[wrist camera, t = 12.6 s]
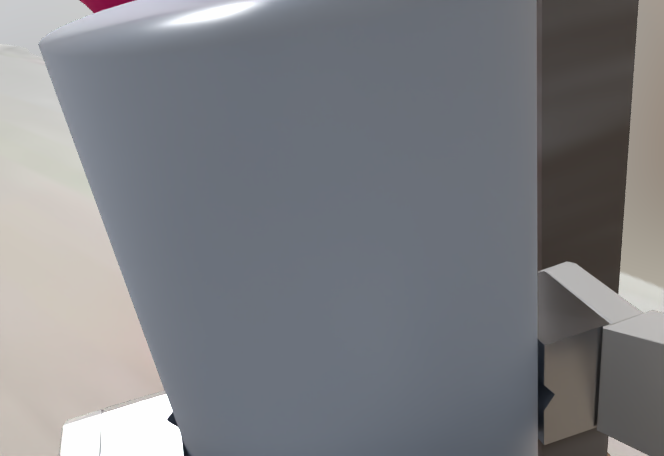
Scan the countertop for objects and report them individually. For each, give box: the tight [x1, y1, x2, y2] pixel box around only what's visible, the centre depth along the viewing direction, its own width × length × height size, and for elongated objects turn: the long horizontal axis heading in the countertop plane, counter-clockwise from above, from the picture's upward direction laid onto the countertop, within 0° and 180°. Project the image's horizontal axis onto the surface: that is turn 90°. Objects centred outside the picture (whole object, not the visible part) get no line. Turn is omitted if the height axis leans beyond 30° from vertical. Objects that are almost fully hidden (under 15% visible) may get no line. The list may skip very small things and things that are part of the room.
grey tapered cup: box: [38, 0, 538, 456], centre depth 9 cm, size 5×5×12 cm
